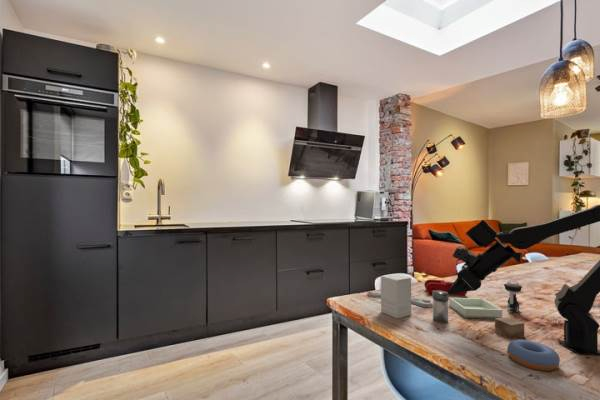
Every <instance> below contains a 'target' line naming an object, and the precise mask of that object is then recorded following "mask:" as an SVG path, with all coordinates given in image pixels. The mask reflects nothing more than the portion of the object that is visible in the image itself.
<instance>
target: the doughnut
mask: <svg viewBox="0 0 600 400" xmlns="http://www.w3.org/2000/svg"><path fill="white" fill-rule="evenodd" d="M506 351H507V353H508V356H509V357H510V359H512V360H513V361H514V362H515V363H516V364H519V365H520V366H523V367H526V368H528V369H531V370H537V371H541V372H542V371H543V372H551V371H554V370H556V369H558V368H559V366H560V363H561V359H560V356H559V354H558V353H557V352H556V350H555V349H554V348H552V347H550V346H548V345H546V344H543V343H540V342H537V341H532V340H529V339H513V340H512V341H509V343H508V345H507V350H506Z"/></svg>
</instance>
